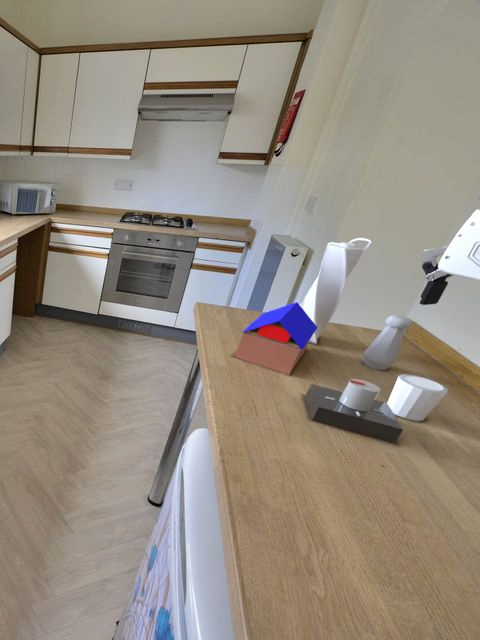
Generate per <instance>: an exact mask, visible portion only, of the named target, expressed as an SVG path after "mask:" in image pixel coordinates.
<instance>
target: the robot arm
mask: <svg viewBox="0 0 480 640" xmlns="http://www.w3.org/2000/svg"><path fill="white" fill-rule="evenodd" d="M479 200H480V197H479ZM440 256H441V258H440V260H439V262H438V260H437V259H438V257H440ZM437 262H438V263H437ZM421 263H422V264H421V268H422V270H423V272H424V273H425V280H426V281H427V283H426V285H425V286H424V289H423V290H422V292H421V294H420V298H421V299H420V301H419V305H422V306H428V305H437V304H438V303H439V301H440V299H441V297H442V296H443V294H444V292H445V290H446V289H447V286H448V285H449V281H448V280H447V279H449V278H451V277H453V276H455V277H459V278H464V279H468V280H473V281H478V282H480V208H477V209H475V211H474V212H473V213H472V214H471V215H470V217H468V219H467V220H466V221H465V222H464V224H463V225H462V226H461V228H460V229H459V230H458V232H457V233H456V234H455V236H454V237H453V239H452V240H451V242H450V243H449V244H448V245H446V246H440V247H436V248H430V249H425V250H422V251H421Z"/></svg>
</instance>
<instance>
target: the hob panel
mask: <svg viewBox="0 0 480 640" xmlns="http://www.w3.org/2000/svg"><path fill="white" fill-rule="evenodd" d="M342 393H343V391H341V390H337V389H332V388H329V387H325V386H321V385H317V384H313V383H311V384H310V386H309V388H308V390H307V392H306V394H305V400H306V403H307V407H308V409H309V414H310V417H311V420H312V421H315V422H319V423H323V424H326V425H330V426H333V427H336V428H339V429H344V430H346V431H351V432H353V433H358V434H361V435H365V436H368V437H371V438H376V439H379V440H383V441H385V442H386V441H387V442H390V443H393V444H395V443H397V441H398V440H399V438H400V436H401V435H402V433H403V431H404V428H403V426H402V424H401V423H400V421H399V420H398V418H397V416H396V414H394V413H393V412H392V410H391V408H390V407H389V405H388V404H387V402H386V401H381V400H378V399H375V400H374V402H373V404H372V405H371V407H370V409H369V410H368V411H358V410H354V409H351V408H349V407H347V406H345V405H343V404H342V403H341V402H340V401H339V399H340V397H341V395H342Z"/></svg>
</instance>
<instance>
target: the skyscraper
mask: <svg viewBox="0 0 480 640" xmlns="http://www.w3.org/2000/svg"><path fill="white" fill-rule="evenodd" d="M357 241H365V242H368V243H367V245H366V246H365V247H364V248H360V247H357V246H355V245H356V244H355V243H354V242H357ZM371 244H372V240H370V239H368V238H365V237H357V238H354V239H351V240H350V241H349V242H347V241H341V242H333V241H331V242H330V241H329V242H328V243H327V245H326V248H325V251H324V255H323V258H322V260H321V264H320V268H319V270H318V271H319V272H318V276H317V277H316V278H315V280H314V282H313V284H312V285H311V287H310V289H308V291H307V293H306V294H305V295H304V298H303V301H302V302H301V303H299V305H300V306H301V308H302V309H303V310H304V311H305V313H306V314H307V315H308V316H309V317H310V319H311V320H312V321H313V322H314V324H315V325H316V326H317V327H318V328H317V329H316V331H315V332H314V334H313V335H312V337H311V339H310V341H309V343H308V344H313V345H317V344H318V340H319V338H320V336H321V335H322V333H323V332H324V330H325V329H326V327H327V326H328V324H329V322H330V321H331V319H332V317H333V316H334V314H335V312H336V310H337V308H338V306H339V303H340V301H341V299H342V297H343V292H344V289H345V284H346V280H347V279H348V277H349V276H350V274H351V273H352V271H353V270H354V268H355V267H356V265H357V264H358V262H359V261H360V259H361V258H362V256H363V255H364V253H365V251H366V250H367V248H369V246H370V245H371Z"/></svg>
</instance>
